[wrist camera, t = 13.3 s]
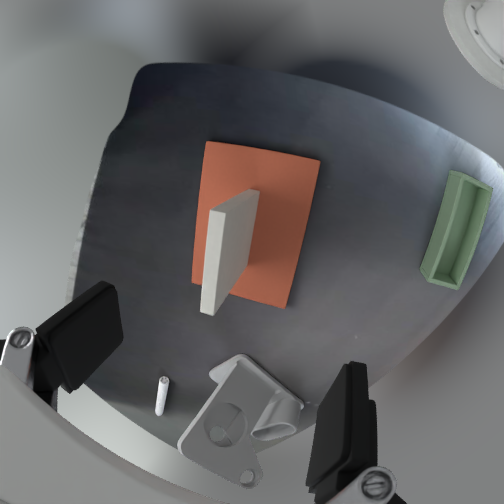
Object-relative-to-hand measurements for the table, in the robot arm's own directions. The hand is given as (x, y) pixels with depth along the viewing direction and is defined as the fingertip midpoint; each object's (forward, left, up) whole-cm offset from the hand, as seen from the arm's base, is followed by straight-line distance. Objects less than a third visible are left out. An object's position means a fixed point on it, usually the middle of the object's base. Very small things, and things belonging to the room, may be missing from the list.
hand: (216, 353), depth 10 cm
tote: (-3, +21, -25) cm, 33 cm away
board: (+4, -5, -25) cm, 25 cm away
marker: (+48, -19, -26) cm, 58 cm away
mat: (+4, -5, -25) cm, 26 cm away
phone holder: (+34, +1, -26) cm, 42 cm away
